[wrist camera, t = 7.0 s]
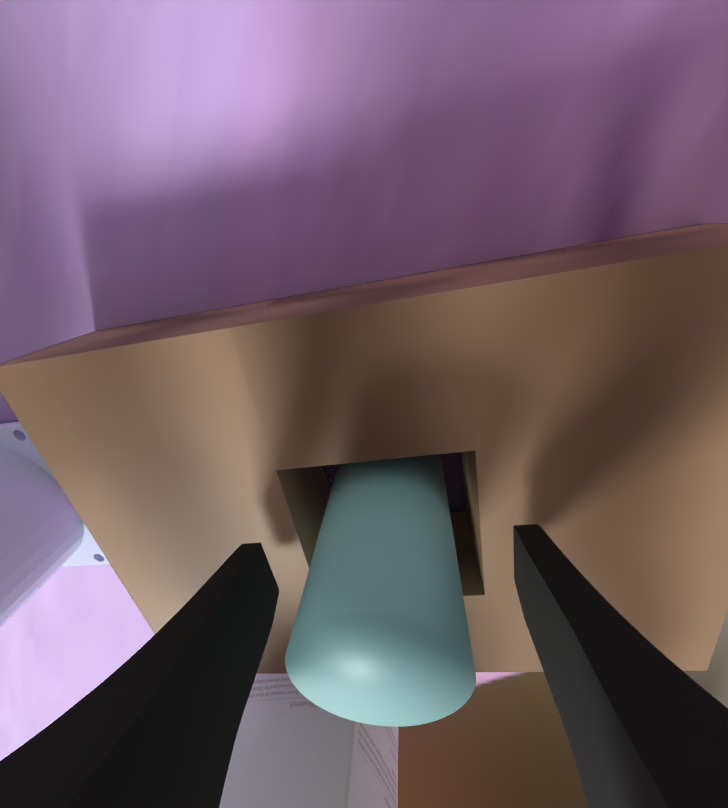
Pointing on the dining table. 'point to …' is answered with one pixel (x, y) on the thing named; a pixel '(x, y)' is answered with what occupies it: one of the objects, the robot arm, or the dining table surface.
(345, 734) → the supplement box
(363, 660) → the peg
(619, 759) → the robot arm
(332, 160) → the dining table surface
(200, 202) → the dining table surface
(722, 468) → the socket block
